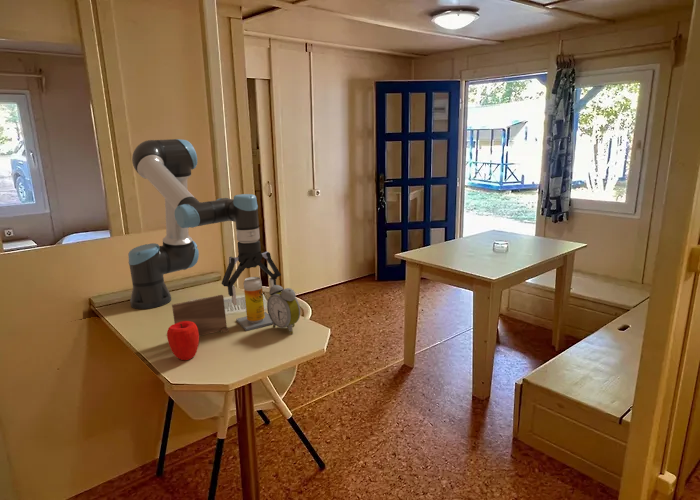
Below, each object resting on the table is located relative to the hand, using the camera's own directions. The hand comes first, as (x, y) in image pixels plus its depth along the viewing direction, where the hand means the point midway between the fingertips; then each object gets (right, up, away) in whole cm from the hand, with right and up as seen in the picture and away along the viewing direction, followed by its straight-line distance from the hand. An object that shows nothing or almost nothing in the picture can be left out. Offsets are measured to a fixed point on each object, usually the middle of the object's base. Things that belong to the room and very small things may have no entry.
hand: (253, 300), depth 158 cm
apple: (-15, -14, -23) cm, 31 cm away
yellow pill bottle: (+1, -7, +1) cm, 7 cm away
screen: (-16, -10, -7) cm, 20 cm away
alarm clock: (+12, -9, -5) cm, 16 cm away
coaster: (+1, -8, +2) cm, 8 cm away
